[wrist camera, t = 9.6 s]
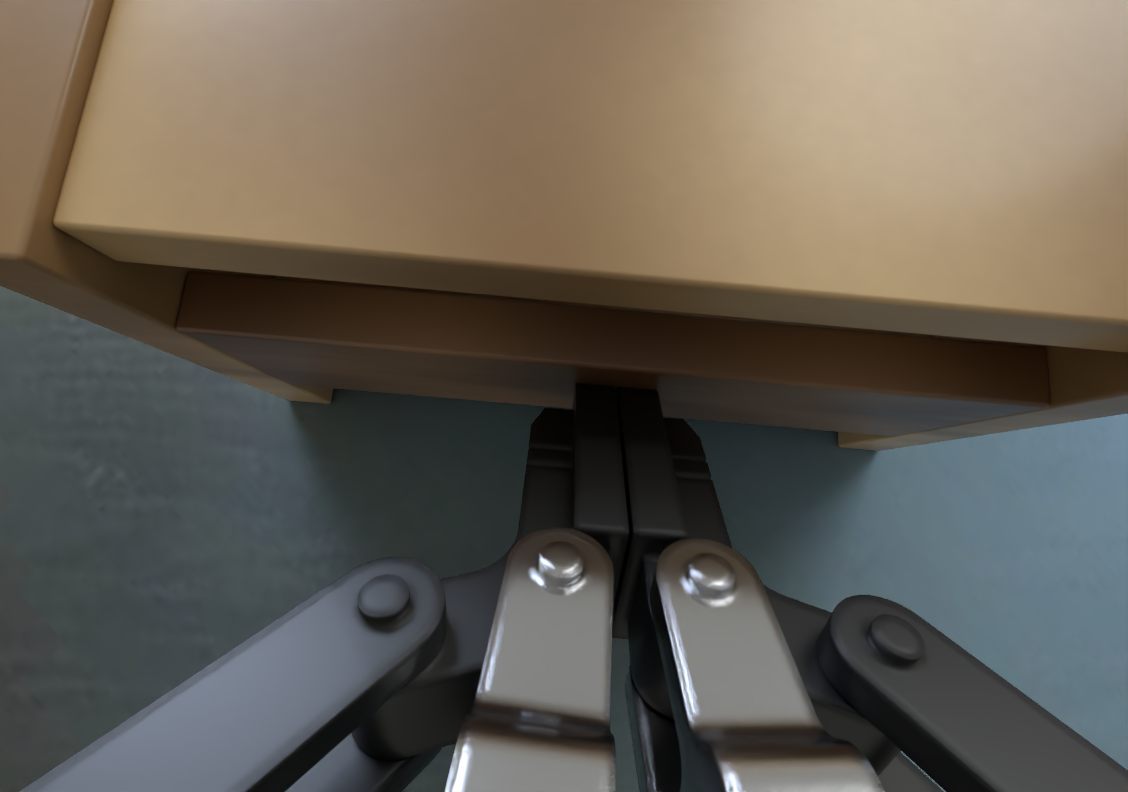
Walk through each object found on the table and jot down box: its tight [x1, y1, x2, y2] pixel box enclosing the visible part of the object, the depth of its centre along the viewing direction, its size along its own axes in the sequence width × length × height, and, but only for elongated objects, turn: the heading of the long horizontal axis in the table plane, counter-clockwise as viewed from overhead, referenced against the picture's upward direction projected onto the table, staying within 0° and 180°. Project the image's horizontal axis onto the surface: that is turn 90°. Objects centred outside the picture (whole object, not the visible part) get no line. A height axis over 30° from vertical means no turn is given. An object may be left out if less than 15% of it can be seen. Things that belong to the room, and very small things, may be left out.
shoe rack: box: [0, 0, 1128, 451], centre depth 12 cm, size 16×11×9 cm
